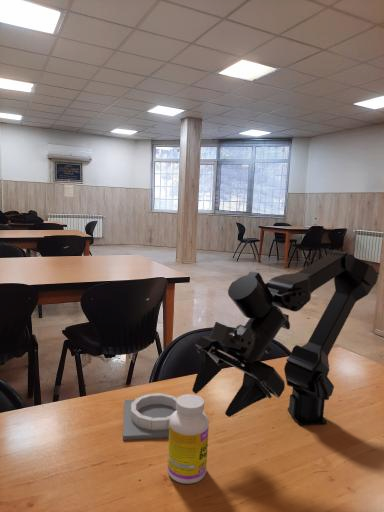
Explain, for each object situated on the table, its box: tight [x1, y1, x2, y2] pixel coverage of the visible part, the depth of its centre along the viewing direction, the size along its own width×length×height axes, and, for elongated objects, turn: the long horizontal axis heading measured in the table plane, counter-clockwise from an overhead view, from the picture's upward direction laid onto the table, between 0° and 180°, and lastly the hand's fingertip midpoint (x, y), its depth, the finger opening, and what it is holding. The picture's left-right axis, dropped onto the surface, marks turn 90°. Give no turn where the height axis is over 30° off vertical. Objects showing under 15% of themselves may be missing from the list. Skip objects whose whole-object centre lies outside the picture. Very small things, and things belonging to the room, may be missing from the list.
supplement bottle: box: [167, 393, 210, 484], centre depth 64 cm, size 7×7×13 cm
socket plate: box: [122, 392, 178, 441], centre depth 81 cm, size 14×14×3 cm
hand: (209, 403), depth 66 cm, fingers open, 9 cm apart
